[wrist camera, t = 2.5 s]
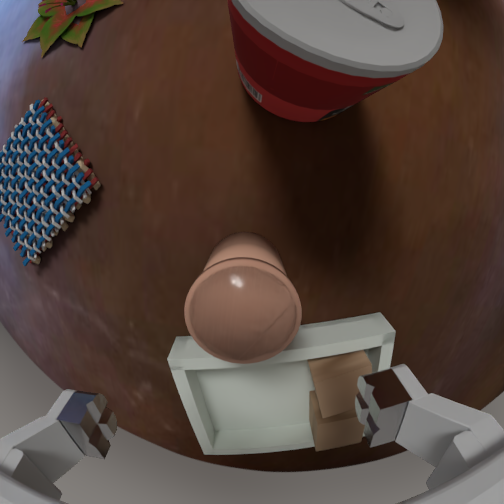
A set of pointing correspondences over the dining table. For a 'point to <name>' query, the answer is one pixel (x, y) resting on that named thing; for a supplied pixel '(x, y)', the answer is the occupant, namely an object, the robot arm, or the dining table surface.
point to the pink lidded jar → (243, 301)
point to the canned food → (329, 50)
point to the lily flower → (64, 21)
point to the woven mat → (41, 181)
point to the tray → (268, 386)
